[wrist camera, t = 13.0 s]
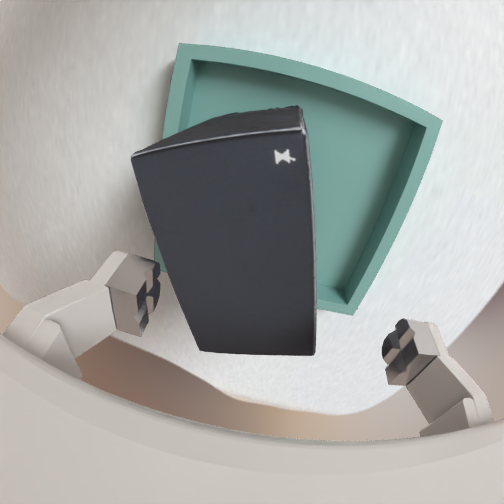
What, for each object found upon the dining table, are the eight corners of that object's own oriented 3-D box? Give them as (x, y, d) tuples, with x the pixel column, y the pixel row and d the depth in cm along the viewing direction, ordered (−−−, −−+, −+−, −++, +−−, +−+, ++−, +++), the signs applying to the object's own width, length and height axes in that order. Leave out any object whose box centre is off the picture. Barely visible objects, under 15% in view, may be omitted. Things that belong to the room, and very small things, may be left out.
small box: (204, 117, 17) (117, 152, 8) (302, 104, 16) (315, 118, 7) (231, 250, 23) (193, 356, 14) (314, 245, 21) (321, 358, 13)
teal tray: (192, 48, 15) (179, 43, 13) (425, 115, 15) (442, 120, 13) (164, 252, 24) (154, 268, 22) (348, 295, 25) (352, 315, 22)
